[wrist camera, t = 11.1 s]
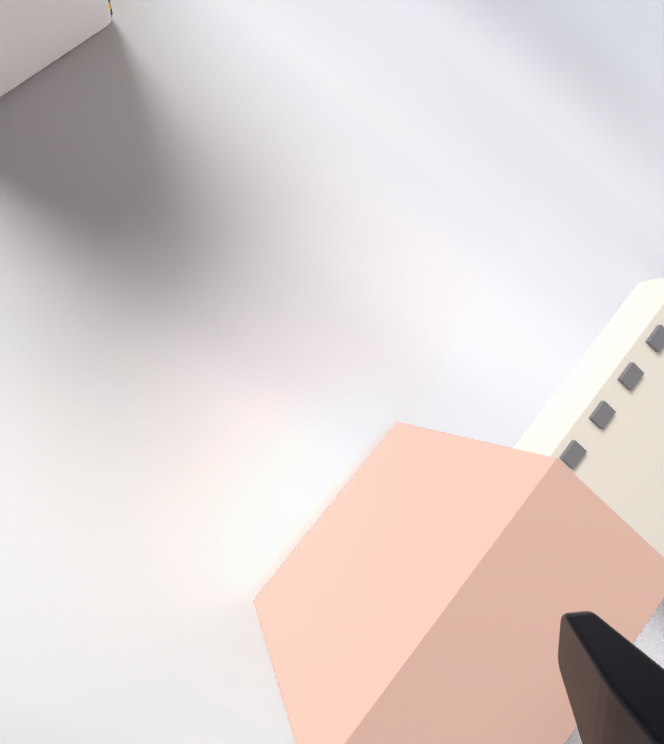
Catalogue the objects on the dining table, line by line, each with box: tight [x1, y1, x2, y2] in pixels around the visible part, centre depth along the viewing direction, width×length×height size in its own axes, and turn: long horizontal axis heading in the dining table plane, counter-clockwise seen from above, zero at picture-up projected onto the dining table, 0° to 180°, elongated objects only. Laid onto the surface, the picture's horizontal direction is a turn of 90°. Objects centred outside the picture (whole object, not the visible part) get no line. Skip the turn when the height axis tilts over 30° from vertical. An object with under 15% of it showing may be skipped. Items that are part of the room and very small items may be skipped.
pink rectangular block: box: [253, 422, 664, 744], centre depth 17 cm, size 8×4×10 cm, turn 140°
